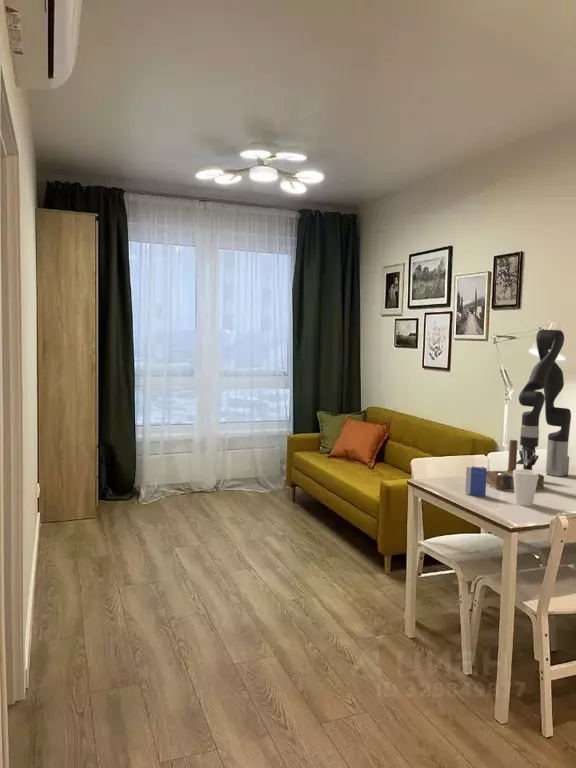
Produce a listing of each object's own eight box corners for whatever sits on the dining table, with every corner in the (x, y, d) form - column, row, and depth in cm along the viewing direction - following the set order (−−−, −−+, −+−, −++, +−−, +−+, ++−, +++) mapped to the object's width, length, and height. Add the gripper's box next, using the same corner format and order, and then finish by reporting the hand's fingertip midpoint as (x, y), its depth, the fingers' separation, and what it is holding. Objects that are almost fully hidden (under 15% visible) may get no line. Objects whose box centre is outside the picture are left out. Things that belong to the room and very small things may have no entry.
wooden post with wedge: (530, 480, 276) (532, 442, 275) (506, 477, 281) (508, 440, 280) (531, 479, 279) (533, 441, 278) (507, 476, 284) (509, 439, 283)
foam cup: (530, 500, 240) (532, 469, 239) (540, 507, 231) (542, 474, 230) (507, 500, 240) (509, 469, 239) (516, 506, 230) (518, 474, 229)
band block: (531, 483, 269) (532, 471, 269) (543, 489, 259) (544, 476, 259) (485, 484, 267) (486, 471, 266) (495, 489, 257) (496, 476, 256)
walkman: (485, 495, 247) (486, 467, 246) (484, 496, 244) (485, 468, 244) (466, 492, 251) (467, 464, 250) (465, 494, 248) (466, 466, 247)
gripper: (545, 437, 256) (543, 477, 257) (529, 433, 269) (527, 470, 270) (529, 437, 255) (527, 477, 256) (514, 433, 268) (512, 470, 269)
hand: (527, 473), depth 263 cm, fingers closed
